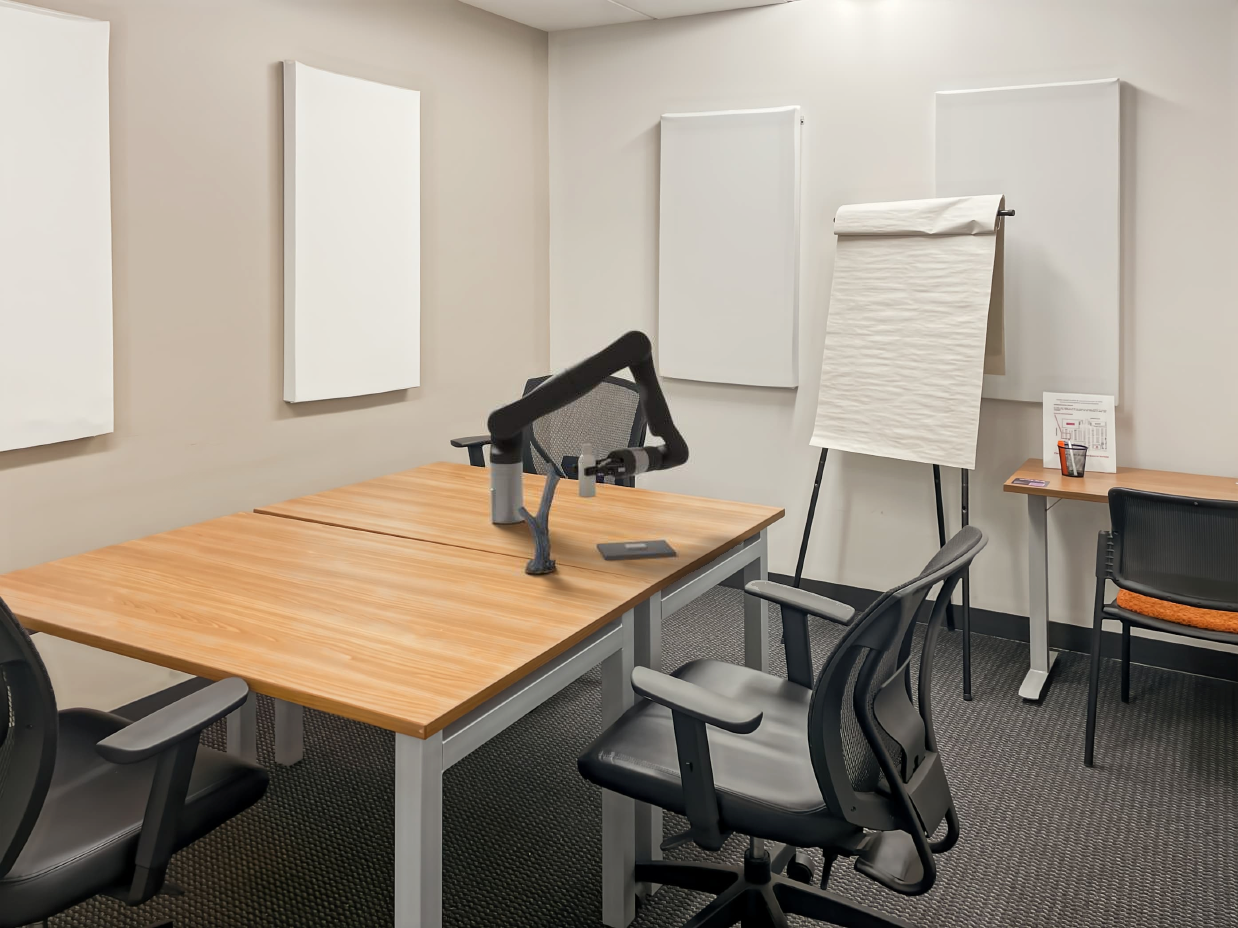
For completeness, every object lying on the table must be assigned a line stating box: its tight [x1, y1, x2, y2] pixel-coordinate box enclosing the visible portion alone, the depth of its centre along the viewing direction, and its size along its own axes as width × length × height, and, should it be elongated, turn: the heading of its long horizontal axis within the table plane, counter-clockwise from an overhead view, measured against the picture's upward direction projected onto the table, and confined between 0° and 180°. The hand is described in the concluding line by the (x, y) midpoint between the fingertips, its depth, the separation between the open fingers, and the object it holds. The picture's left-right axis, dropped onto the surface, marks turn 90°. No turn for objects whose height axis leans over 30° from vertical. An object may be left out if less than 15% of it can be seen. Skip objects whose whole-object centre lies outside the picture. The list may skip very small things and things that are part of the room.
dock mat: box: [596, 539, 677, 561], centre depth 245 cm, size 18×12×2 cm, turn 101°
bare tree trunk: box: [518, 462, 561, 574], centre depth 229 cm, size 12×8×25 cm
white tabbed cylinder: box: [577, 443, 597, 499], centre depth 249 cm, size 4×4×14 cm
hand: (579, 470), depth 248 cm, fingers closed on white tabbed cylinder, 4 cm apart
